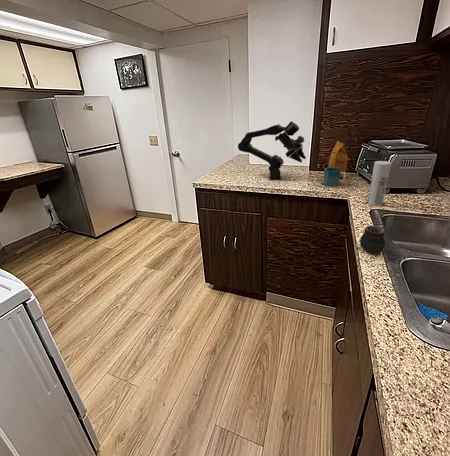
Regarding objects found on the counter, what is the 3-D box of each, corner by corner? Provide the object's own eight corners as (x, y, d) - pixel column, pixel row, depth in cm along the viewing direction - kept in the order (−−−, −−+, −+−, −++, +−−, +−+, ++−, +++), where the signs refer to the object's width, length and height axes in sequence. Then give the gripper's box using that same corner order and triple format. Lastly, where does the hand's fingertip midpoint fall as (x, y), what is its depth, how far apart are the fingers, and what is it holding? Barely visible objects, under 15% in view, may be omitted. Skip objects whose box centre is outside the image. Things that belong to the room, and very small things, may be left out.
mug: (324, 181, 153) (344, 183, 148) (322, 185, 147) (343, 187, 142) (325, 167, 150) (346, 168, 145) (324, 170, 143) (346, 172, 138)
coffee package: (341, 173, 167) (345, 140, 159) (346, 178, 156) (351, 143, 147) (325, 173, 169) (329, 140, 160) (329, 178, 158) (333, 144, 149)
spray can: (372, 199, 123) (380, 160, 115) (385, 204, 118) (394, 162, 110) (364, 202, 120) (371, 162, 113) (377, 207, 115) (385, 164, 107)
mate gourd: (387, 250, 83) (393, 224, 79) (376, 259, 79) (382, 231, 75) (365, 241, 88) (370, 216, 85) (354, 249, 84) (358, 223, 81)
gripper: (292, 133, 140) (310, 154, 139) (300, 130, 154) (317, 148, 154) (278, 147, 146) (295, 167, 145) (287, 142, 161) (303, 160, 160)
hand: (303, 160), depth 151 cm, fingers open, 9 cm apart
